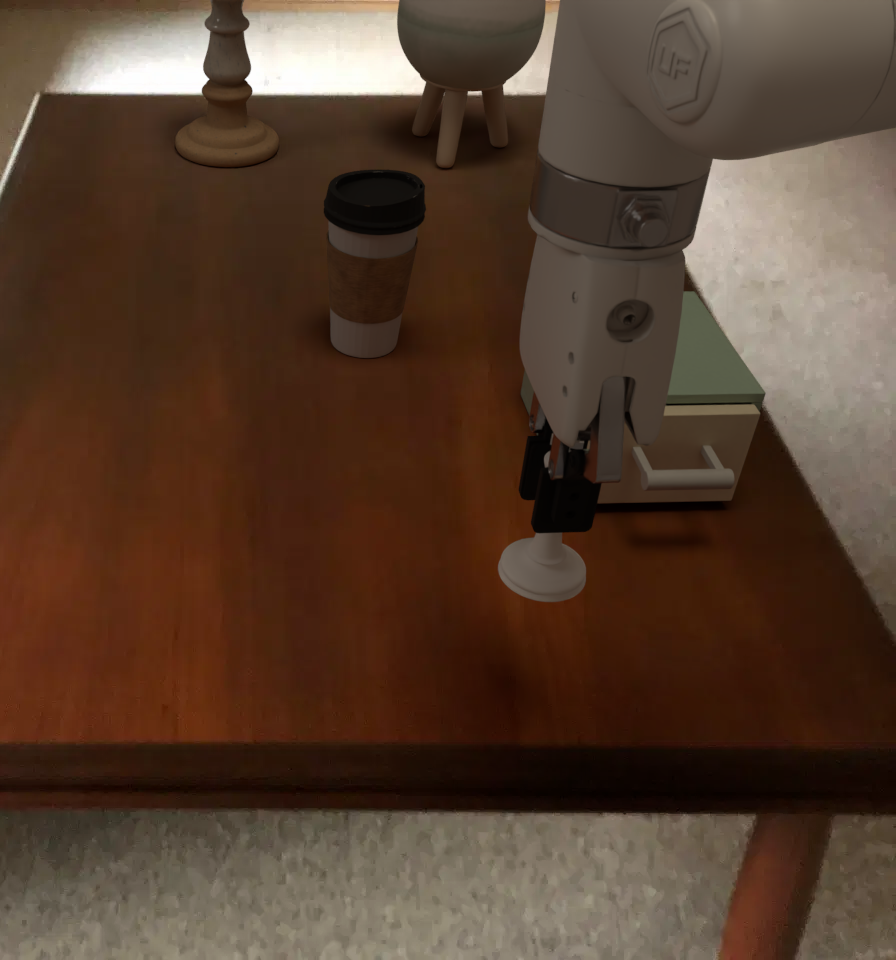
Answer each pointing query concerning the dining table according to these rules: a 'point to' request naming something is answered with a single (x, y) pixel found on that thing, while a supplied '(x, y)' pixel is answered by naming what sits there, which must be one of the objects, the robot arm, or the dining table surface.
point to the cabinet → (700, 364)
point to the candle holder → (227, 99)
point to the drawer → (686, 456)
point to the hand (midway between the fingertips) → (553, 510)
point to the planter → (466, 59)
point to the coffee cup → (371, 256)
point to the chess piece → (543, 564)
